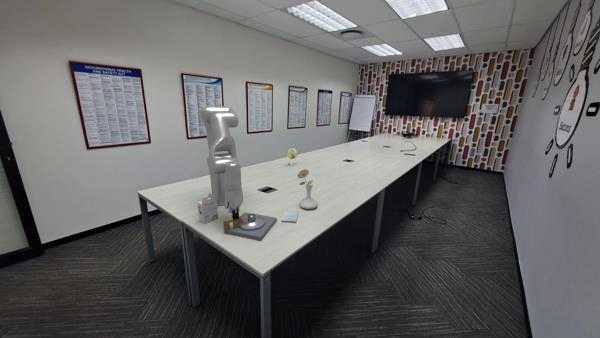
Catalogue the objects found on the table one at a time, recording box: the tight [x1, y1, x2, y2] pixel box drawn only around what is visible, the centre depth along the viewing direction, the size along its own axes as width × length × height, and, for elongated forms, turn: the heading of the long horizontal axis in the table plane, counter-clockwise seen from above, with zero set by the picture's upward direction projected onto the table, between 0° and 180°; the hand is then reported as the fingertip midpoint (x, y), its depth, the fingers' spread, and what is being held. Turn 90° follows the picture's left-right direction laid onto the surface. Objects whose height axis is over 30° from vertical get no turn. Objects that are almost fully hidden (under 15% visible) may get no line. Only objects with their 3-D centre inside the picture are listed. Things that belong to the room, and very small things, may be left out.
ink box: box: [197, 194, 219, 224], centre depth 126 cm, size 9×5×15 cm, turn 141°
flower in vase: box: [297, 168, 318, 210], centre depth 143 cm, size 13×11×25 cm
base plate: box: [223, 212, 278, 242], centre depth 121 cm, size 20×20×6 cm
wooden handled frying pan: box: [222, 213, 265, 231], centre depth 119 cm, size 21×14×4 cm, turn 118°
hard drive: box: [281, 210, 299, 224], centre depth 133 cm, size 2×8×12 cm
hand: (235, 218), depth 121 cm, fingers closed
